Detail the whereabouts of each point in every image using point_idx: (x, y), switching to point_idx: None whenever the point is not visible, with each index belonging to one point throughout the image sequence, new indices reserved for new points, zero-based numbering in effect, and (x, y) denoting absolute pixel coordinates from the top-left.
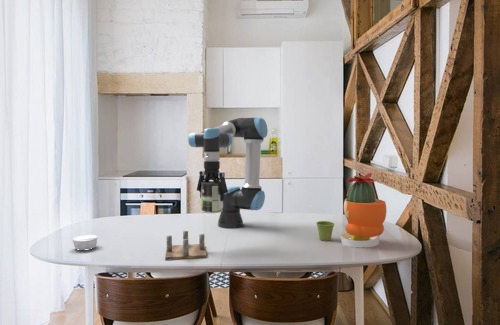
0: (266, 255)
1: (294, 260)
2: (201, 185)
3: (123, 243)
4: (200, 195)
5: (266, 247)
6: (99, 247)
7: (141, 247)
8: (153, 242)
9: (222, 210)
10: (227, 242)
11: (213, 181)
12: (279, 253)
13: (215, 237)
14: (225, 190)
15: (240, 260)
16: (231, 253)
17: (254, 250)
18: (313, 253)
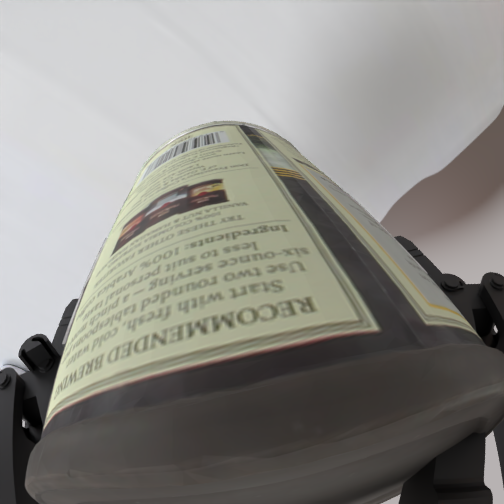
0: (431, 90)
1: (492, 93)
2: (32, 448)
3: (4, 323)
4: None
5: (384, 7)
6: (21, 364)
7: (54, 314)
8: (18, 268)
9: (297, 150)
10: (200, 39)
11: (106, 500)
12: (447, 52)
13: (89, 34)
14: (495, 307)
15: (394, 180)
16: (330, 143)
17: (374, 61)
18: (496, 16)
